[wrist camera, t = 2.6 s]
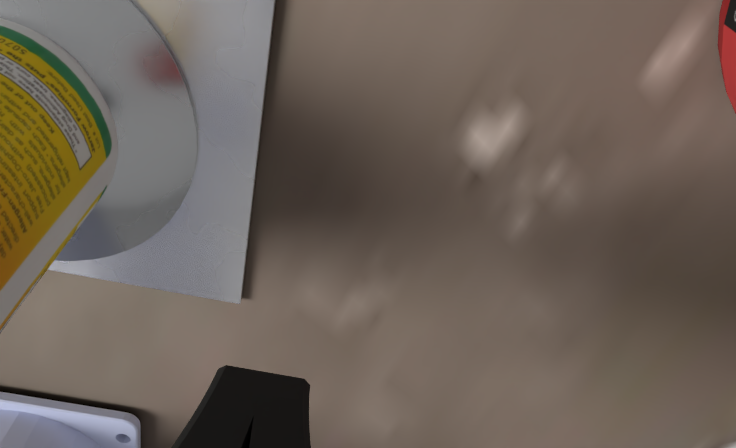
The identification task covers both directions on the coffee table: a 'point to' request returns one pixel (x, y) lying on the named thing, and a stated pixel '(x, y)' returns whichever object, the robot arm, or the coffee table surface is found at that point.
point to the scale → (168, 135)
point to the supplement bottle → (45, 157)
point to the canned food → (728, 47)
